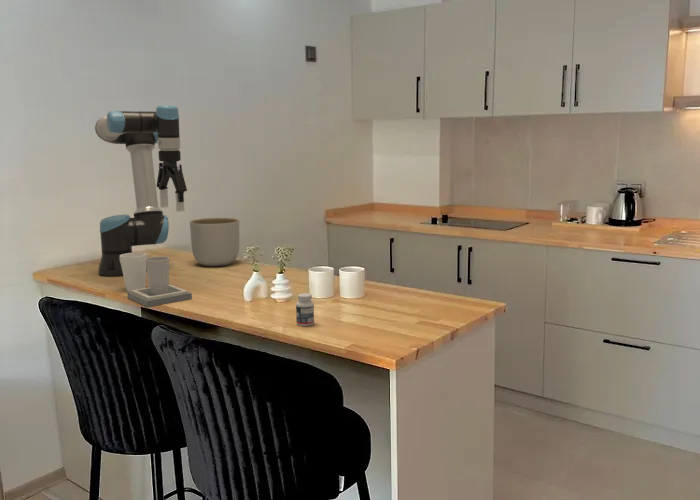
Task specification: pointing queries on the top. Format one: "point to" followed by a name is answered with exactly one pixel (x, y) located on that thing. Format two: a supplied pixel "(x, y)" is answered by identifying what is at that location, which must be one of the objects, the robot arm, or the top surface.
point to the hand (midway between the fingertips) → (172, 209)
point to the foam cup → (134, 270)
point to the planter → (215, 240)
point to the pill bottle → (305, 310)
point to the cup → (158, 274)
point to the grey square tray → (159, 296)
